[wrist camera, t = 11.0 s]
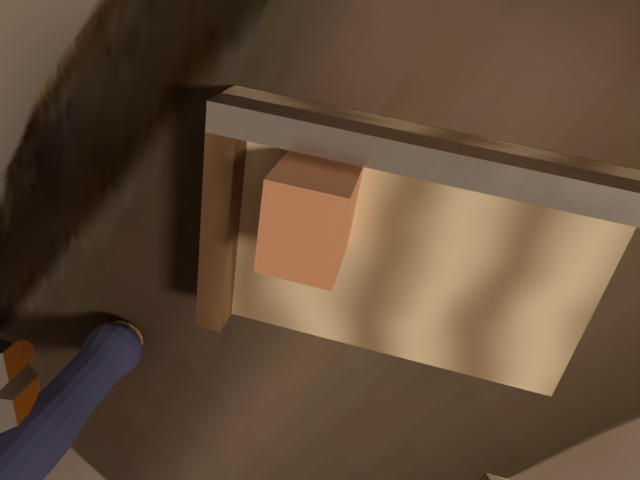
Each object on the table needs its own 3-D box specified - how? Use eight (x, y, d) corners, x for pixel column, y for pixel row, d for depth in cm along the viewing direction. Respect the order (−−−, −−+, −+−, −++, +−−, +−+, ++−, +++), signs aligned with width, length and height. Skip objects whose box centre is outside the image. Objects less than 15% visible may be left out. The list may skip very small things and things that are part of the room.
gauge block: (364, 162, 28) (350, 198, 23) (347, 244, 30) (331, 291, 26) (291, 147, 28) (263, 179, 24) (280, 229, 30) (253, 272, 26)
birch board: (643, 170, 27) (673, 200, 23) (545, 374, 33) (557, 421, 30) (234, 85, 29) (206, 100, 26) (219, 291, 36) (195, 325, 32)
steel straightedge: (657, 184, 25) (673, 200, 23) (642, 214, 26) (657, 231, 24) (221, 92, 27) (206, 100, 26) (219, 122, 28) (205, 132, 26)
